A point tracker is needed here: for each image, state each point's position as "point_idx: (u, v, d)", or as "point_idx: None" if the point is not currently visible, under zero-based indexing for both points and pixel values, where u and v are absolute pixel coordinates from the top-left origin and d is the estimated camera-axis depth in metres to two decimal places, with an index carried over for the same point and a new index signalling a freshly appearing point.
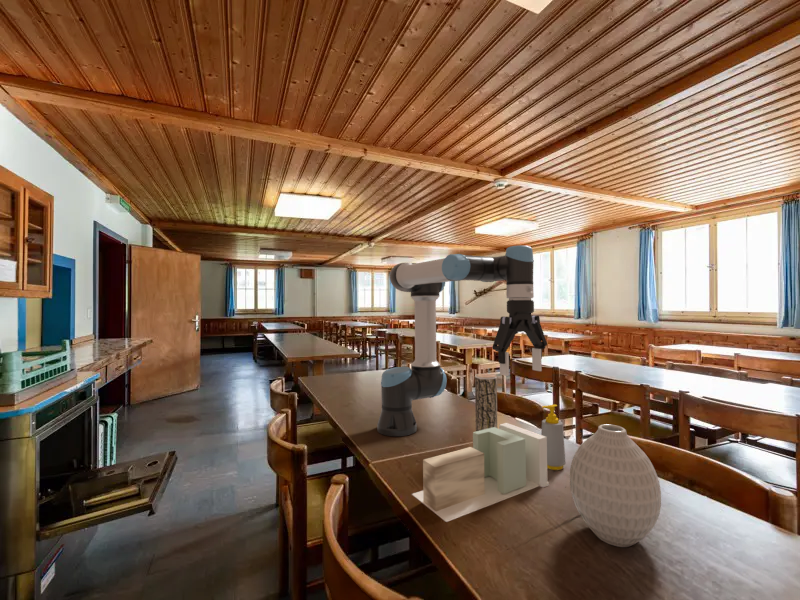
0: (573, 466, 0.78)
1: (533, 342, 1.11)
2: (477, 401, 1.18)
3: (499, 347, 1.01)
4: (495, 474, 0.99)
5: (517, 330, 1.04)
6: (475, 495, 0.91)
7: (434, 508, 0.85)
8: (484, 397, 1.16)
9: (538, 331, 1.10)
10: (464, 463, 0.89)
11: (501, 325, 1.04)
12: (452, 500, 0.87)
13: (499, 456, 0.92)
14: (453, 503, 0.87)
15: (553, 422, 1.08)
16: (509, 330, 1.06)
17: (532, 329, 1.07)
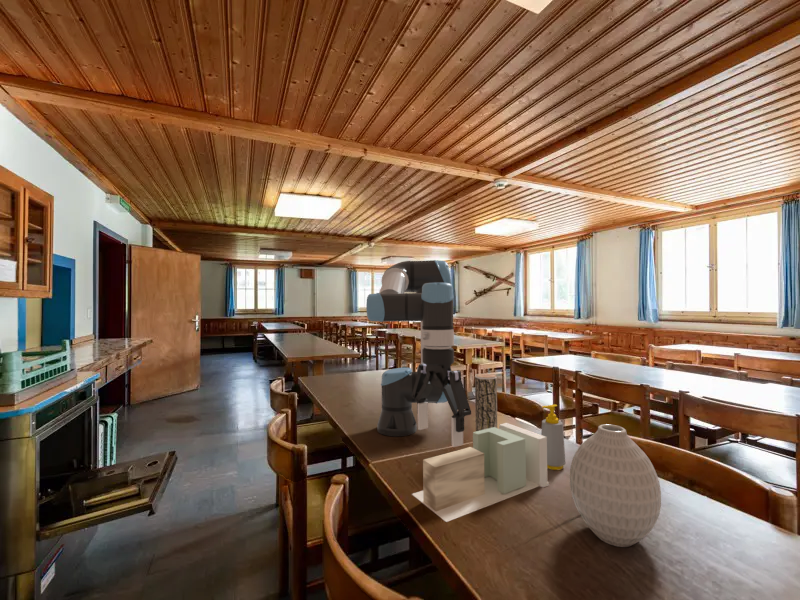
0: (573, 466, 0.78)
1: None
2: (477, 401, 1.18)
3: (412, 394, 0.96)
4: (495, 474, 0.99)
5: (425, 382, 0.90)
6: (475, 495, 0.91)
7: (434, 508, 0.85)
8: (484, 397, 1.16)
9: None
10: (464, 463, 0.89)
11: None
12: (452, 500, 0.87)
13: (499, 456, 0.92)
14: (453, 503, 0.87)
15: (553, 422, 1.08)
16: None
17: (440, 386, 0.85)
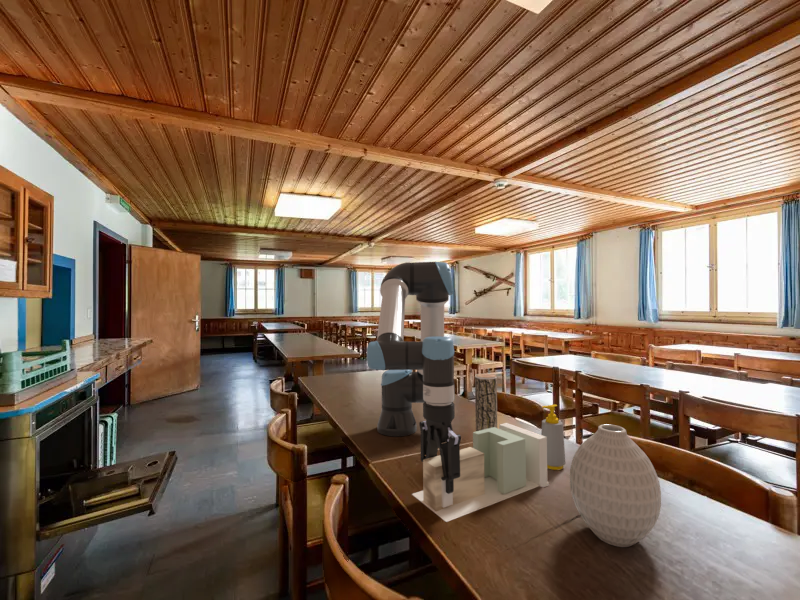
0: (573, 466, 0.78)
1: None
2: (477, 401, 1.18)
3: (421, 458, 0.93)
4: (495, 474, 0.99)
5: (428, 439, 0.89)
6: (475, 495, 0.91)
7: (434, 508, 0.85)
8: (484, 397, 1.16)
9: None
10: (464, 463, 0.89)
11: None
12: None
13: (499, 456, 0.92)
14: (453, 503, 0.87)
15: (553, 422, 1.08)
16: None
17: (438, 444, 0.86)
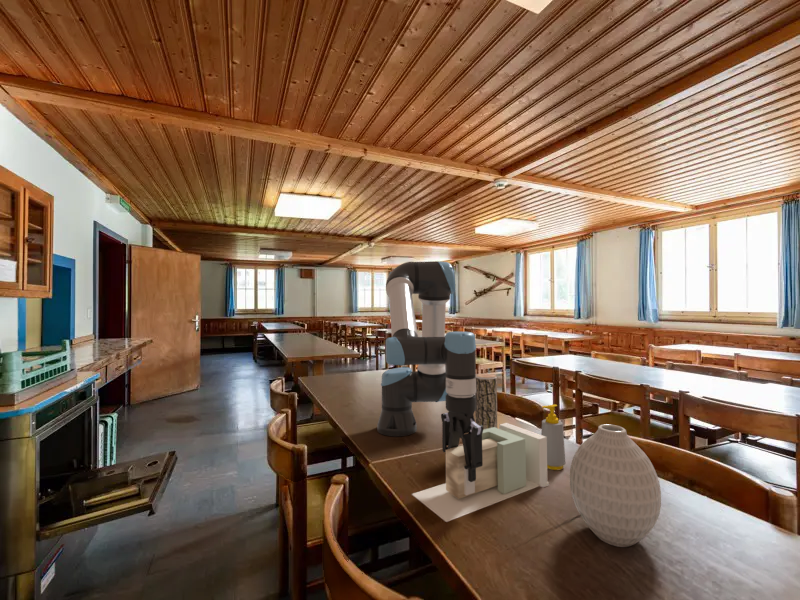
0: (573, 466, 0.78)
1: None
2: (477, 401, 1.18)
3: (443, 449, 0.96)
4: None
5: (450, 430, 0.93)
6: (495, 484, 0.94)
7: (457, 495, 0.89)
8: (484, 397, 1.16)
9: None
10: (485, 453, 0.92)
11: None
12: None
13: (499, 456, 0.92)
14: (475, 491, 0.91)
15: (553, 422, 1.08)
16: None
17: (460, 435, 0.89)
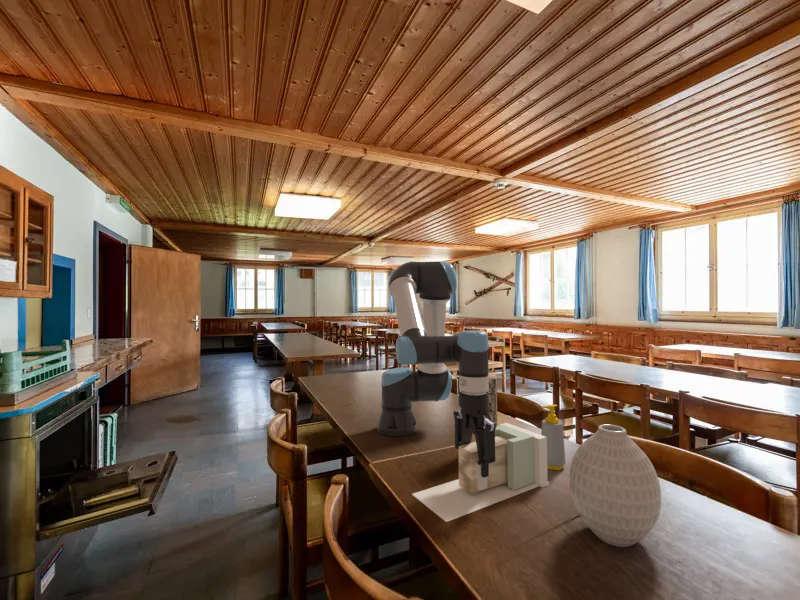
0: (573, 466, 0.78)
1: None
2: None
3: (455, 445, 0.98)
4: None
5: (463, 427, 0.95)
6: (507, 480, 0.96)
7: (470, 491, 0.91)
8: None
9: None
10: (497, 449, 0.95)
11: None
12: None
13: (509, 453, 0.94)
14: (487, 487, 0.93)
15: (553, 422, 1.08)
16: None
17: (473, 431, 0.91)
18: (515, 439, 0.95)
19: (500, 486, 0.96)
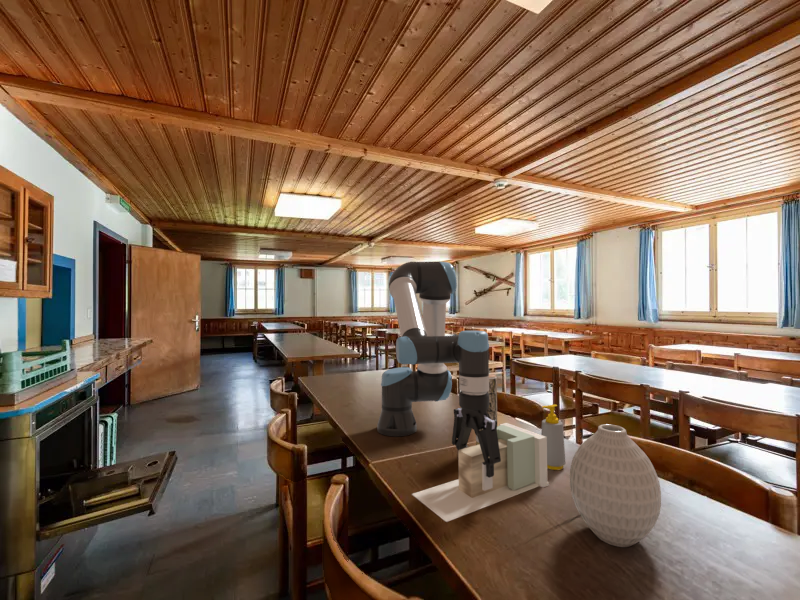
0: (573, 466, 0.78)
1: None
2: None
3: (452, 441, 1.00)
4: None
5: (463, 426, 0.95)
6: (507, 483, 0.96)
7: (470, 495, 0.91)
8: None
9: None
10: None
11: None
12: None
13: (509, 453, 0.94)
14: (487, 491, 0.93)
15: (553, 422, 1.08)
16: None
17: (475, 431, 0.91)
18: (515, 439, 0.95)
19: None
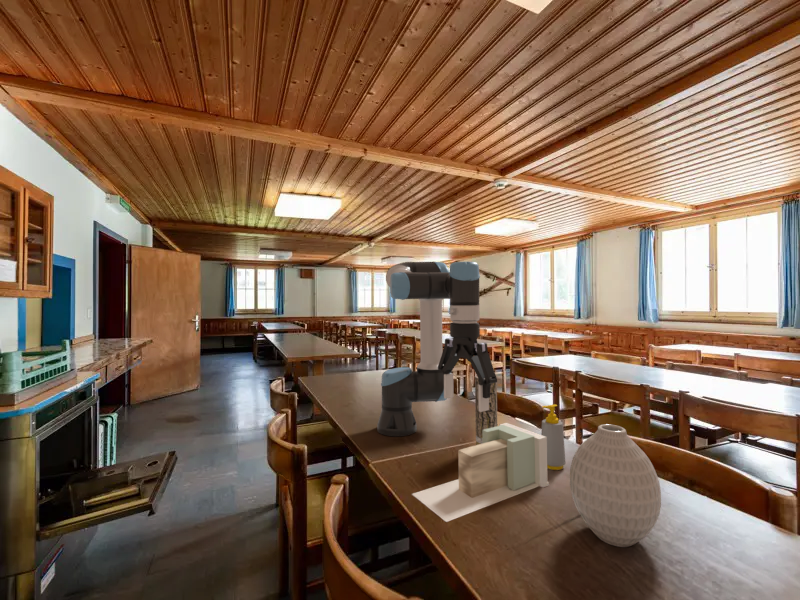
0: (573, 466, 0.78)
1: None
2: (477, 401, 1.18)
3: (438, 367, 1.03)
4: None
5: (451, 354, 0.97)
6: (507, 483, 0.96)
7: (470, 495, 0.91)
8: None
9: None
10: (497, 453, 0.95)
11: None
12: (486, 487, 0.93)
13: (509, 453, 0.94)
14: (487, 491, 0.93)
15: (553, 422, 1.08)
16: None
17: (467, 357, 0.92)
18: (515, 439, 0.95)
19: None
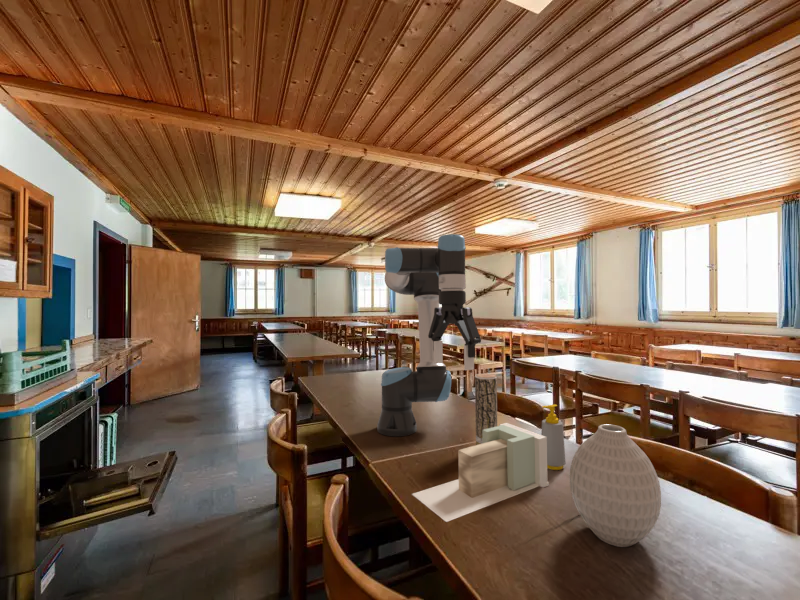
0: (573, 466, 0.78)
1: None
2: (477, 401, 1.18)
3: (428, 335, 1.11)
4: None
5: (440, 321, 1.06)
6: (507, 483, 0.96)
7: (470, 495, 0.91)
8: (484, 397, 1.16)
9: None
10: (497, 453, 0.95)
11: None
12: (486, 487, 0.93)
13: (509, 453, 0.94)
14: (487, 491, 0.93)
15: (553, 422, 1.08)
16: None
17: (454, 322, 1.00)
18: (515, 439, 0.95)
19: None
